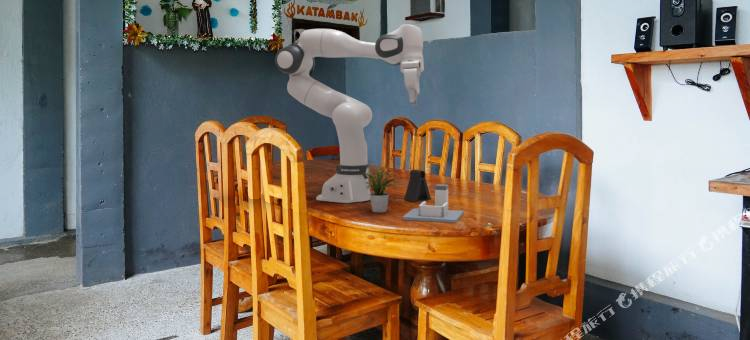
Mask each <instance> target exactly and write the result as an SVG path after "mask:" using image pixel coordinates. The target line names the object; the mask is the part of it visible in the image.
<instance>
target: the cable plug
mask: <svg viewBox="0 0 750 340" xmlns="http://www.w3.org/2000/svg"><path fill="white" fill-rule="evenodd" d="M446 202H447V203H448V204H449V184H446V183H445V184H444V183H441V184H440V183H436V184H435V185H434V206H443V205H444V204H445V203H446Z"/></svg>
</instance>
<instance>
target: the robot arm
mask: <svg viewBox="0 0 750 340" xmlns="http://www.w3.org/2000/svg"><path fill="white" fill-rule="evenodd" d="M423 50H424V39H423V32H422V29H421V27H419V26H418V25H416V24H413V23H403V24H401V25H400V26H399V27H398V28H397V29H395V30H393V31H391V32H388V33H386V34H381V36H379V37H378V38H377V40H376V42H369V41H363V40H359V39H356V38H355V37H354V36H353V37H352V36H351V35H349V34H347V33H346V32H343V31H341V30H338V29H337V30H336V29H332V28H311V29H305V30H303V31H302V32H301V34H300V35H299V38H298V43H296V42H292V43H290V44H288V45H287V46H284V47H282V48H280V49H279V50H278V51H277V52H276V54H275V56H274V57H275V58H274V62H275V63H274V64H275V66H276V67H277V68H278V71H280V72H282V73H284V74H287V75H288V76H289V80H288V82H287V84H286V85H287V86H286V90H287V93H288V94H289V95H290V96H291V97H292V98H294V100H296V101H297V102H299V103H301V104H302V105H304V106H306V107H307V108H309V109H311V110H313V111H315V112H317V113H318V114H320V115H321V116H325V117H328V118H330V119H332V122H333V124H334V126H335V130H336V133H337V134H336V135H337V137H338V139H337V140H338V144H339V160H340V161H339V164H338V165H337V166H334V171H335V174H334V175H333V176H331V177H330V178H329V179H328V180H326V181H325V182H324V183H323V185H322V189H321V193H320V194H318V195H317V196H316V197H315V199H316V201H321V202H331V203H333V202H334V203H342V204H351V203H359V202H367V201H371V200H370V194H371V193H372V192H371V190H370V189H367V188H370V187H367V185H368V186H370V185H369V184H366V182H369V181H370V180H369V179H370V177H369V176H368V175H367V174H365V173H368V174H369V173H370V167H369V166H370V165H369V163H368V159H369V158H368V143H367V141H366V136H365V134H364V133H365V132H364V128H365V127H367V126H368V125H369V124H370V123H371V122H372V119H373V112H372V109H371V108H370V106H368V105H367V104H366V103H364V102H362V101H360V100H359V99H358V100H357V99H355V98H353V97H351V96H349V95H347V94H344V93H342V92H340V91H337V90H335V89H333V88H331V87H329V86H328V85H326V84H324V83H322V82H320V81H318V80H316V79H314V78H313V73H314V70H315V66H316V60H315V58H316V57H318V58H319V57H320V58H331V59H332V58H333V59H335V58H336V59H337V58H363V59H371V60H372V59H373V60H381V61H383V62H385V63H387V64H388V65H391V66H394V67H395V66H397V67H398V66H400V73H402V74H403V79H404V85H405V89H406V90H407V91H408V96H409V98H408V99H409V100H408V101H409V103H411V105H412V106H417V105H418V104H417V103H418V101H417V100H418V95H420V91H421V89H420V77H421V75H422V74H421V73H423V72H424V71H425V63H424V59H425V58H424V55H423ZM367 170H368V171H367ZM366 175H367V176H366ZM369 175H370V174H369ZM369 183H370V182H369ZM366 187H367V188H366ZM366 189H367V190H366Z"/></svg>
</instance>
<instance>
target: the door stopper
mask: <svg viewBox="0 0 750 340" xmlns="http://www.w3.org/2000/svg"><path fill="white" fill-rule="evenodd" d="M403 200H404V201H407V202H411V203H420V202H424V201H426V202H427V201H431V200H432V197H431V194H430V190H429V187H428V183H427V179H426V172H425V171H424V170H420V169H410V171H409V180H408V184H407V188H406V192H405V195H404V198H403Z"/></svg>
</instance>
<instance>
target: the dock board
mask: <svg viewBox="0 0 750 340" xmlns="http://www.w3.org/2000/svg"><path fill="white" fill-rule="evenodd" d="M464 214H465V213H464V210H453V209H452V210H451V209H449V202H448V203H447V202H446V203H445V204H444V205H443V206H435V205H428V204H427V201H421V203H420V204H419V205H418V207H417V208H416V207H415V208H413V209H411V210H409V211H408V212H407V213H405V214H404V215H402V221H419V222H430V223H431V222H434V223H450V224H451V223H453V224H456V223H458V221H459V220H460V219H461V218H462V217H463V215H464Z"/></svg>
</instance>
